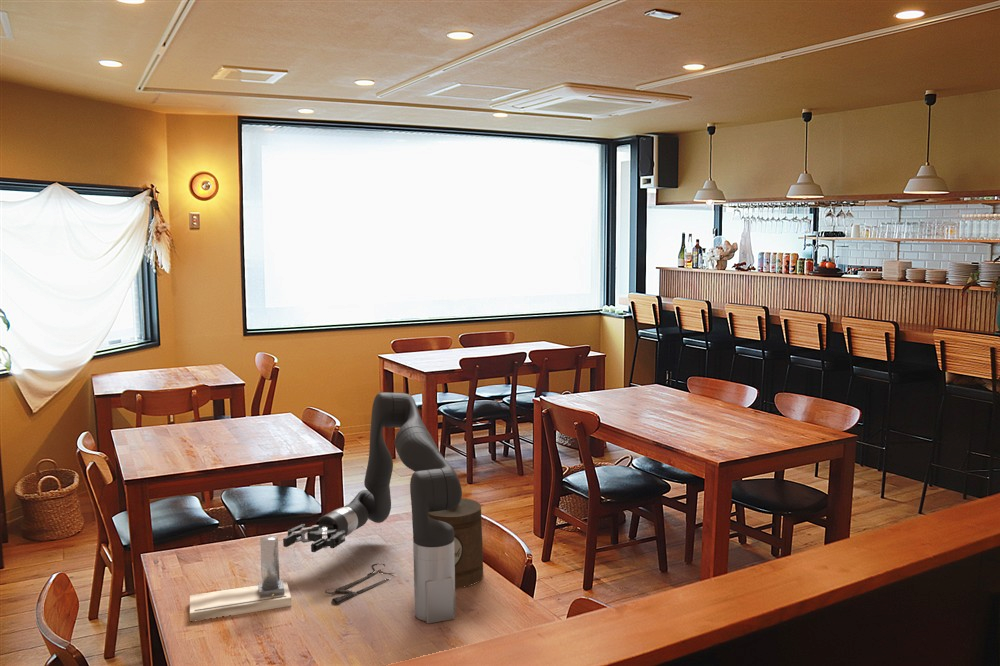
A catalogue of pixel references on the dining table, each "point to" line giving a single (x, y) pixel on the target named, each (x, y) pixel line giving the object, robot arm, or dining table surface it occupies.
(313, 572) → the dining table surface
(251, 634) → the dining table surface
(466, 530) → the wooden container
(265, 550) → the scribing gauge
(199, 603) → the birch board
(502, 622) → the dining table surface
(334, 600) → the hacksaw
